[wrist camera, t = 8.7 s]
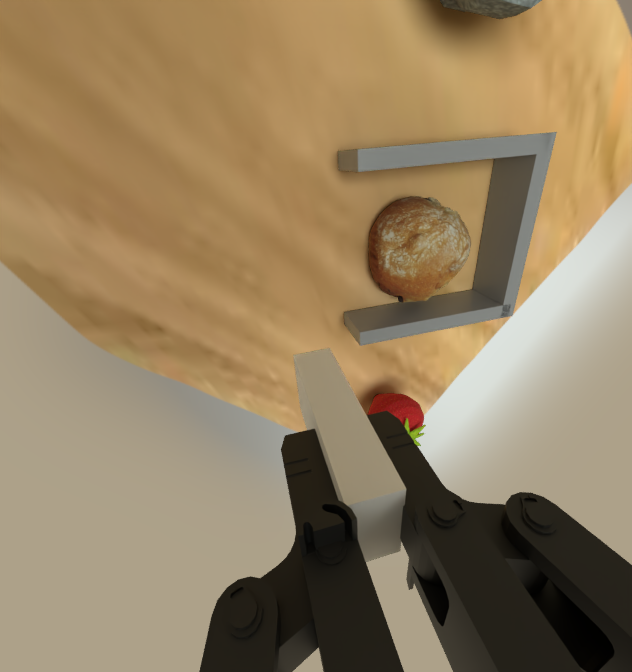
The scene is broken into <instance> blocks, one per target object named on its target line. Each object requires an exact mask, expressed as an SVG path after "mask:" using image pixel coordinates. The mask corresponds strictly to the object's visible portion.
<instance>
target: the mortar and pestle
mask: <svg viewBox="0 0 632 672" xmlns="http://www.w3.org/2000/svg"><path fill="white" fill-rule="evenodd" d="M540 1H542V0H440V2H441V3H442V5H443V7H446V8H450V9H455V10H459V11H463V12H465V11H468V12H472V13H476V14H480V15H484V16H489V17H493V18H497V19H503V18H507V17H512V16H516V15H518V14H520V13H522V12H524V11H526V10H528V9H530V8H532V7H533V6H535V5H536V4H537V3H539V2H540Z"/></svg>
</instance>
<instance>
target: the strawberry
mask: <svg viewBox="0 0 632 672" xmlns="http://www.w3.org/2000/svg"><path fill="white" fill-rule="evenodd" d="M383 411H388V412H390V413H391V414H393V415H394V416H395V417H397V418H398V419H400V421H401V422H402V424H403V425H404V427H405V428H406V430H407V431H408V434H409V435H410V436H411V438H412V439H413V441H414V443H415V444H416V445H417V446H421V445H420V444H419V443H418V442H417V441H416V440H415V439H416V438H418V437H420V436H422V435H423V434H424V433H421V434H419V432H420V431H421V430H422V429H423V428H424V427H425V426H426V425H423V421H424V414H423V412H422V410H421V407H420V405H419V404H418V403H417V402H416V401H414V400H413V399H411V398H410V397H408V396H406V395H403V394H395V393H387V394H377V395H376V396H375V397H374V399H373V402H372V405H371V407H370V409H369V412H368V415H370V414H374V413H378V412H383ZM422 425H423V426H422Z"/></svg>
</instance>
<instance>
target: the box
mask: <svg viewBox="0 0 632 672" xmlns="http://www.w3.org/2000/svg"><path fill="white" fill-rule="evenodd" d="M555 137H556V132H552V133H540V134H528V135H517V136H505V137H493V138H482V139H471V140H459V141H448V142H436V143H425V144H413V145H402V146H390V147H379V148H367V149H356V150H344V151H338V168H339V170H341V171H353V172H363V171H373V170H383V169H393V168H403V167H413V166H423V165H433V164H443V163H453V162H463V161H473V160H483V159H493V158H494V164H493V170H492V176H491V182H490V188H489V194H488V200H487V206H486V212H485V218H484V224H483V230H482V236H481V242H480V248H479V254H478V260H477V266H476V272H475V278H474V284H473V289H472V290H466V291H461V292H455V293H449V294H444V295H438V296H432V297H430V298H429V299H428V300H427V301H423V300H422V301H417V302H404V303H402V302H398V303H393V304H387V305H381V306H376V307H370V308H364V309H359V310H353V311H347V312H344V324H345V326H346V327H347V328H348V330H349V331H350V333H351V334H352V335H353V337H354V338H355V339H356V341H357V342H358V344H359V345H360V346H361V345H366V344H371V343H376V342H381V341H387V340H392V339H397V338H402V337H407V336H412V335H417V334H422V333H427V332H432V331H437V330H442V329H448V328H453V327H458V326H463V325H468V324H473V323H478V322H483V321H488V320H493V319H498V318H504V317H509V316H512V315H513V311H514V307H515V303H516V299H517V295H518V290H519V286H520V282H521V278H522V274H523V270H524V265H525V261H526V257H527V253H528V249H529V245H530V241H531V236H532V232H533V228H534V224H535V220H536V216H537V211H538V207H539V203H540V199H541V195H542V191H543V186H544V182H545V178H546V174H547V170H548V166H549V162H550V157H551V153H552V149H553V145H554V141H555Z"/></svg>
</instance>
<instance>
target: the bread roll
mask: <svg viewBox="0 0 632 672" xmlns="http://www.w3.org/2000/svg"><path fill="white" fill-rule="evenodd" d="M470 246H471V239H470V236H469V233H468V230H467V228H466V225H465V223H464V222H463V221H462V220H461V217H460V216H459V214H458V213H457V211H453V210H451V209H450V208H448V207H447V208H444V207H442V206H441V205H440V203H439V202H438V201H437V200H436V199H434V198H431V197H429V198H428V199H427V198H421V197H408V198H403V199H400V200H397V201H395V202H394V203H392V204H391V205H390V206H388V207H387V208H386V209H385V210H384V211H383V212H382V213H381V214H380V216H379V217H378V218H377V220H376V222H375V223H374V225H373V227H372V229H371V232H370V235H369V262H370V270H371V272H372V276H373V279H374V280H375V282H376V283H377V284H378V285H379V287H380V288H381V290H382V291H383V292H385V293H387V294H389V295H393V296H395V297H398V301H399V302H402V303H404V302H417V301H422V300H423V301H427V300H428V299H429V298H430V297H432V295H433V294H435V293H436V292H437V291H438V290H439V289H440V288H441V287H444V286H446V285H447V284H448V283H449V281H450V280H451V279H452V278H453V277H454V276H455V275H456V274H457V273H458V272H459V271H460V269H461V268H462V267H463V265H464V264H465V262H466V260H467V258H468V256H469V251H470Z"/></svg>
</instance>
